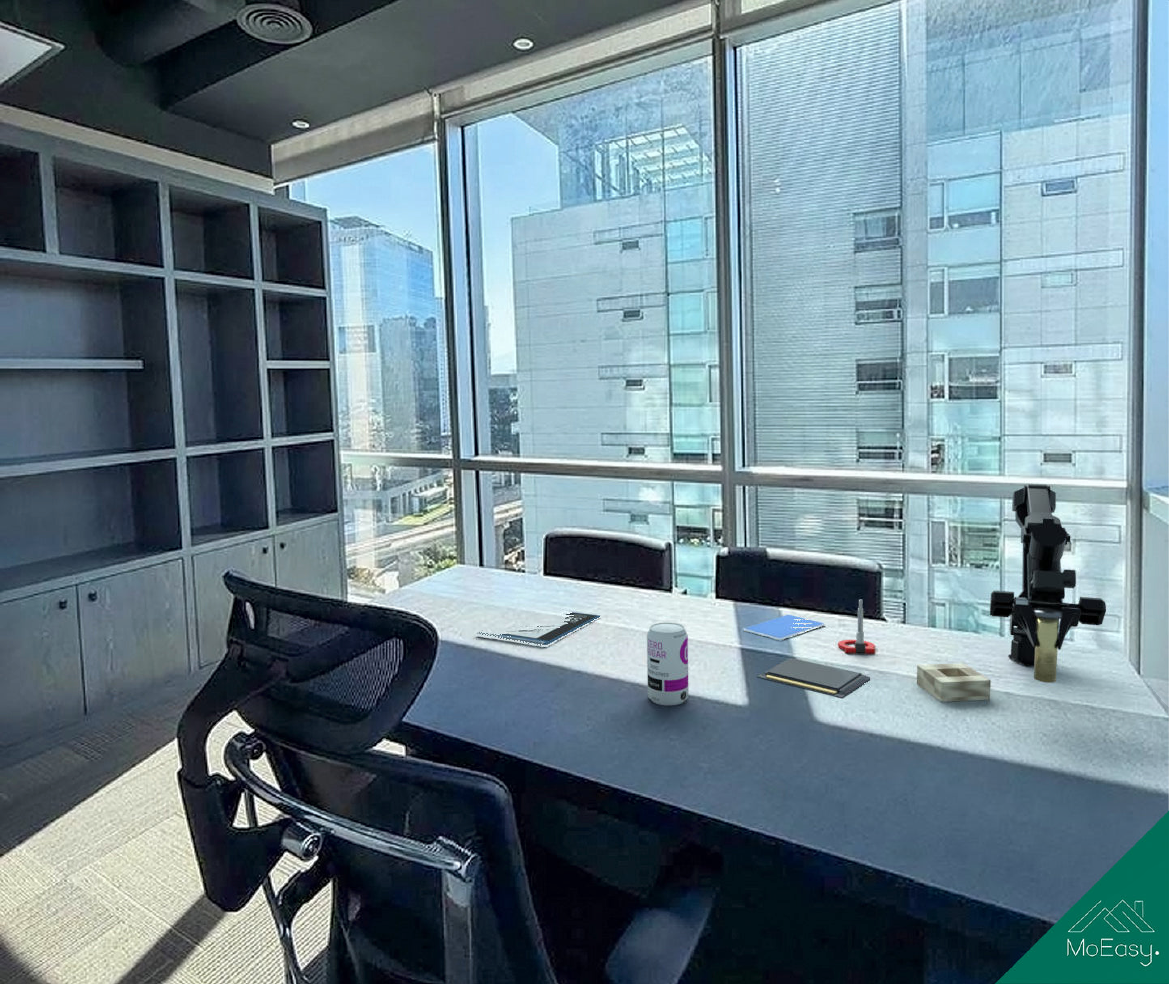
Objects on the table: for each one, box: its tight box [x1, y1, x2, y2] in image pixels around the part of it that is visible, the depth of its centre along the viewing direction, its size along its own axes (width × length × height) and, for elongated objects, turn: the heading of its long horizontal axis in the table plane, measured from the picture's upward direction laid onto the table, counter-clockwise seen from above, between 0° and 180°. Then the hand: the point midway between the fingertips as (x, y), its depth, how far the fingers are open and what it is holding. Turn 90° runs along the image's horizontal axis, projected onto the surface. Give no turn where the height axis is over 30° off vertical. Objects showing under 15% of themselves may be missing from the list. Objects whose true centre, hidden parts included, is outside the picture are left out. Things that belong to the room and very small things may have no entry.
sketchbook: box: [476, 611, 601, 646], centre depth 212 cm, size 22×30×2 cm
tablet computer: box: [742, 614, 826, 641], centre depth 206 cm, size 19×13×1 cm, turn 128°
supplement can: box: [646, 622, 689, 707], centre depth 159 cm, size 8×8×15 cm
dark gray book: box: [756, 657, 871, 699], centre depth 170 cm, size 20×2×15 cm
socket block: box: [916, 662, 992, 703], centre depth 160 cm, size 10×10×4 cm
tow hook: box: [837, 599, 876, 655], centre depth 188 cm, size 8×13×9 cm
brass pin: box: [1033, 608, 1063, 684], centre depth 146 cm, size 5×5×13 cm
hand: (1047, 647), depth 145 cm, fingers closed on brass pin, 4 cm apart
